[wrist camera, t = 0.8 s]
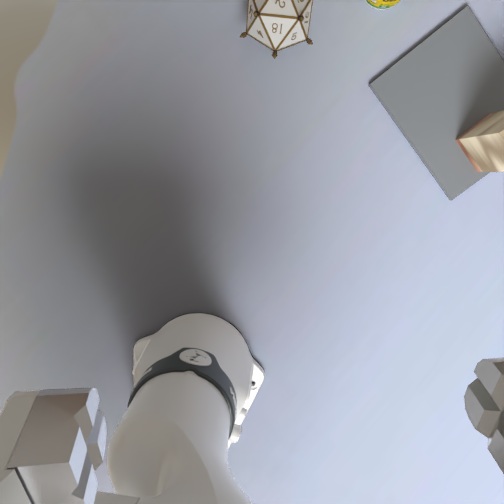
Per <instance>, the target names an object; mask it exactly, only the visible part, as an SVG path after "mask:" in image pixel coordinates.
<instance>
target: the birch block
mask: <svg viewBox="0 0 504 504" xmlns="http://www.w3.org/2000/svg"><path fill="white" fill-rule="evenodd" d="M456 142H457V143H458V145H459V146H460V147H461V149H462V150H463V152H464V153H465V155H466V156H467V158H468V159H469V161H470V162H471V163H472V165H473V166H474V168H475V169H476V171H477V172H504V110H503V111H499V112H495V113H491V114H489V115H488V116H486V117H485V118H484V119H482V120H481V121H480V122H478V123H477V124H476V125H474V126H473V127H472V128H470V129H469V130H468V131H466V132H465V133H464V134H462V135H461V136H460V137H458V138H457V139H456Z"/></svg>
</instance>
